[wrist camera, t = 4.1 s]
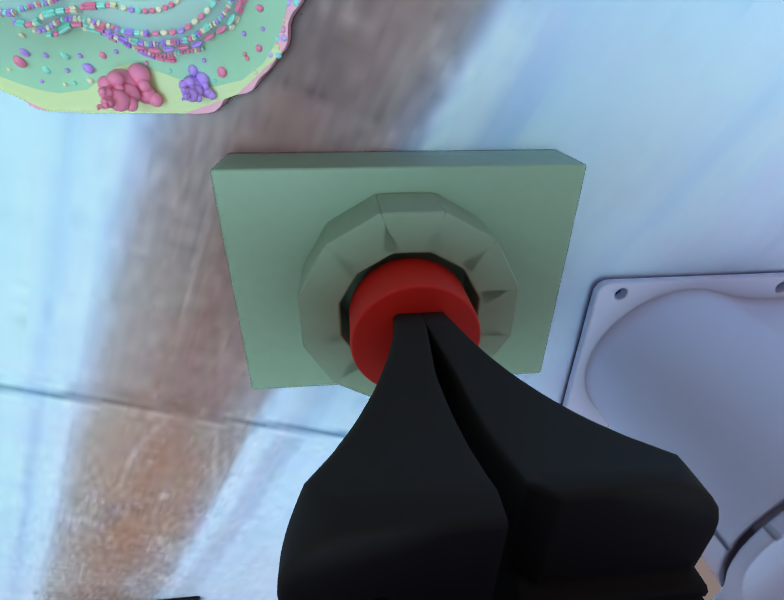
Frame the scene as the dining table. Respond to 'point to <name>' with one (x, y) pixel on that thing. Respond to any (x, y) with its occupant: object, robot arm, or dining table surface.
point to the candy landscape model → (139, 52)
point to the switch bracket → (195, 599)
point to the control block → (390, 247)
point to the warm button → (403, 307)
